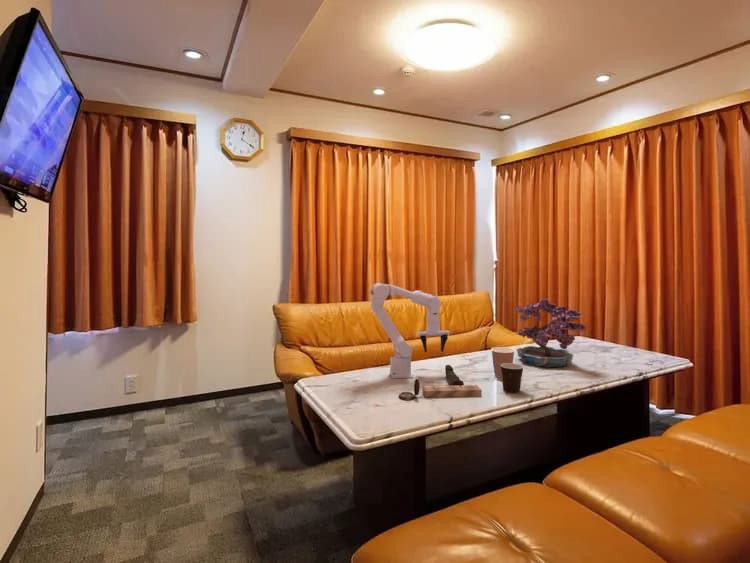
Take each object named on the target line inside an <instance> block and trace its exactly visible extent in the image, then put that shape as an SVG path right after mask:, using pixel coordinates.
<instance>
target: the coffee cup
mask: <svg viewBox="0 0 750 563" xmlns="http://www.w3.org/2000/svg"><path fill="white" fill-rule="evenodd" d="M490 351H491V357H492V364H493V374H494V376H495V377H497V378H501V379H502V373H501V364H504V363H514V362H513V361H514V356H515V351H516V349H514V348H512V347H506V346H496V347H491V349H490Z"/></svg>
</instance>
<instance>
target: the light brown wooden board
mask: <svg viewBox="0 0 750 563" xmlns="http://www.w3.org/2000/svg"><path fill="white" fill-rule="evenodd" d="M482 391H483V390H482V389H481V388H480V387H479V386H478V384H465V385H454V386H452V385H423V386H422V394H423V396H424V398H426V399H427V398H458V397H459V398H462V397H463V398H464V397H468V398H469V397H482V394H483V393H482Z"/></svg>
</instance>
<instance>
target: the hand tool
mask: <svg viewBox="0 0 750 563" xmlns="http://www.w3.org/2000/svg"><path fill="white" fill-rule="evenodd" d="M444 368H445V378H446V380H448V382H449V384H450V386H454V385H464V384H465V383H464V381H462V380H461V379H460V376H458V375H457V374H456V373H455V372H454V367H452V366H451V365H450V364H446V365H445V367H444Z"/></svg>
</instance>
